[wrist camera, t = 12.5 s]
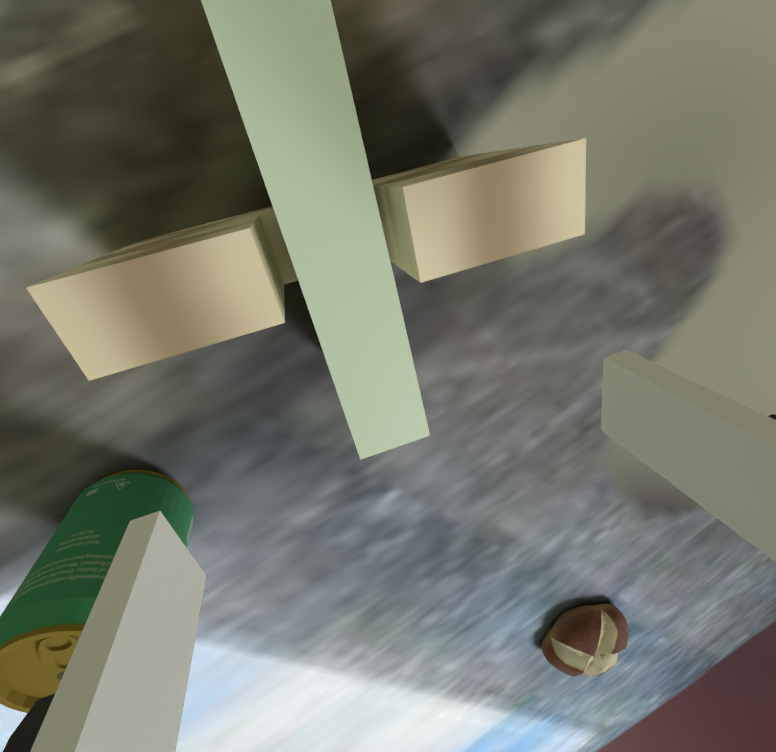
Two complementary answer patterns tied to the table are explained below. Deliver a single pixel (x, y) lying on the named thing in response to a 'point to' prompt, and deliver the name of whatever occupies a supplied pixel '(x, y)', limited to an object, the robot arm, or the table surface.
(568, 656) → the bread
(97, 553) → the beverage can
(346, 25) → the table surface
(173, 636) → the robot arm
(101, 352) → the wooden block structure
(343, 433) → the table surface
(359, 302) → the pale green rectangular block
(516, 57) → the table surface
